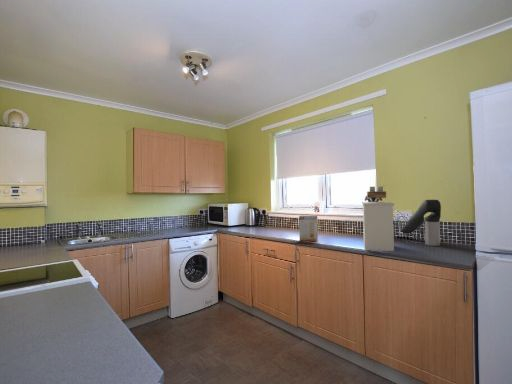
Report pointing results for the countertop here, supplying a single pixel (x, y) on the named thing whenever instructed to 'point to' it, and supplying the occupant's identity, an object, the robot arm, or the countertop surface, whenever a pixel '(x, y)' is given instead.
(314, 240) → the cracker box
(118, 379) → the countertop surface
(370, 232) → the cabinet
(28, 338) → the countertop surface
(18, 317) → the countertop surface
